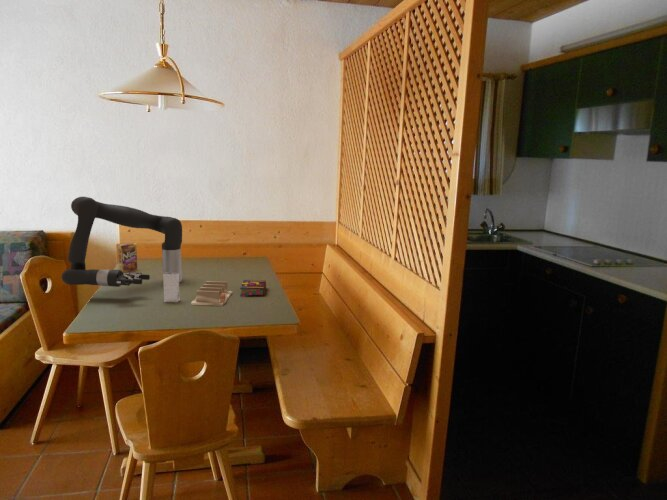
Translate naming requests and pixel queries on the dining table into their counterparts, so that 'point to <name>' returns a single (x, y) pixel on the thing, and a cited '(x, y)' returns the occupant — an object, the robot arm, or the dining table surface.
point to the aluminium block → (171, 287)
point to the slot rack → (212, 294)
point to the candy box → (127, 257)
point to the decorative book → (253, 288)
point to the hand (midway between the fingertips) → (145, 279)
